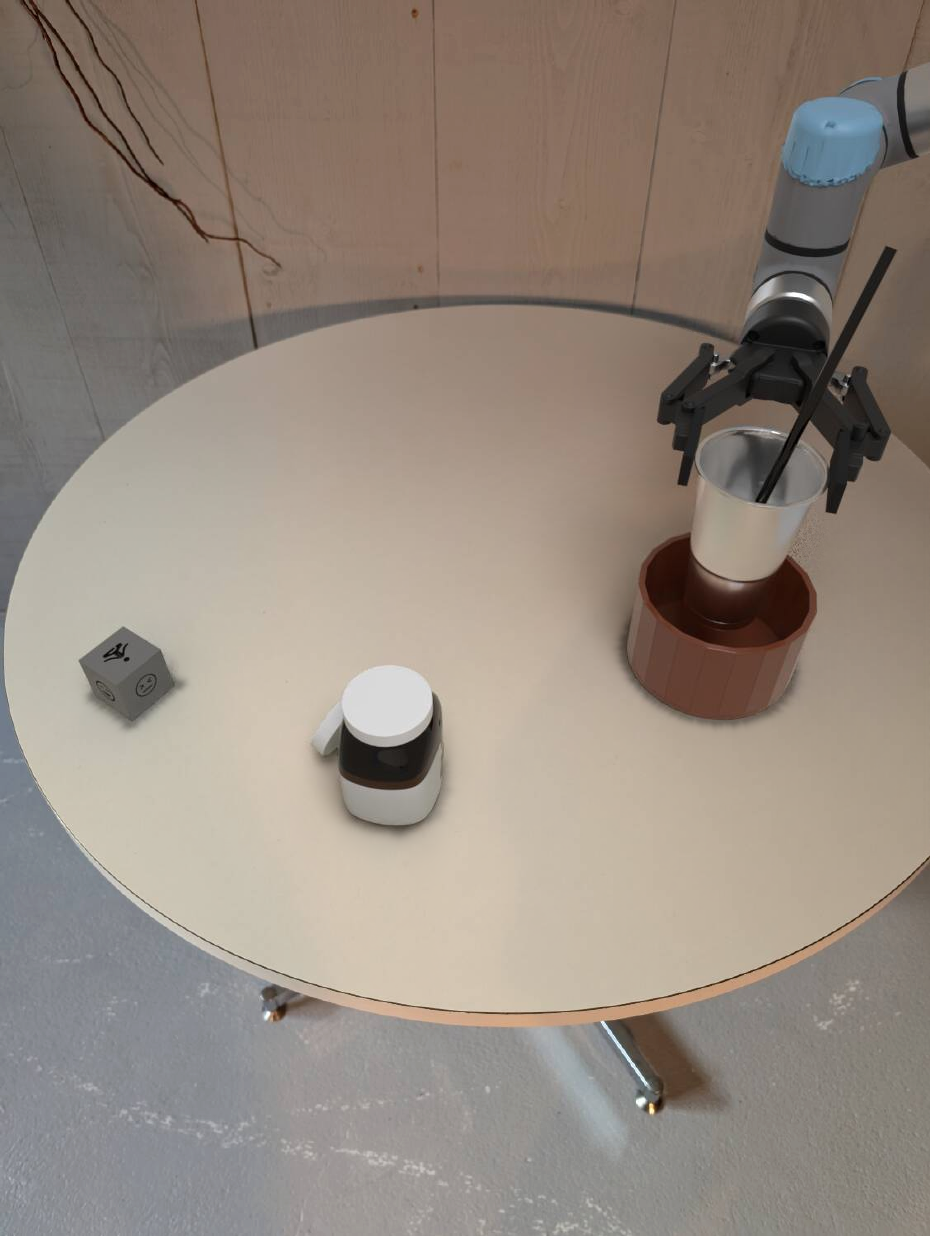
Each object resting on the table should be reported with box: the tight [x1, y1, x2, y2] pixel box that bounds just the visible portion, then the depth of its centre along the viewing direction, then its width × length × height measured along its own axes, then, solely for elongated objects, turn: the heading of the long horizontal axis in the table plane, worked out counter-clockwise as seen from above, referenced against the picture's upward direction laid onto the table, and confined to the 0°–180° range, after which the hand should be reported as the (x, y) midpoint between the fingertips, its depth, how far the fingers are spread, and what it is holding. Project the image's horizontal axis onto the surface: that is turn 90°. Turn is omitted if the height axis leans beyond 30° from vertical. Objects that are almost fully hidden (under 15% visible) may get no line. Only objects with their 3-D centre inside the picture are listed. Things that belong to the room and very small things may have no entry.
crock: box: [626, 531, 818, 720], centre depth 83 cm, size 15×15×9 cm
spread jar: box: [310, 664, 445, 827], centre depth 73 cm, size 12×11×12 cm
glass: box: [683, 245, 899, 631], centre depth 69 cm, size 11×11×30 cm
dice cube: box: [78, 625, 175, 722], centre depth 82 cm, size 5×5×5 cm
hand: (759, 484), depth 66 cm, fingers closed on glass, 10 cm apart
